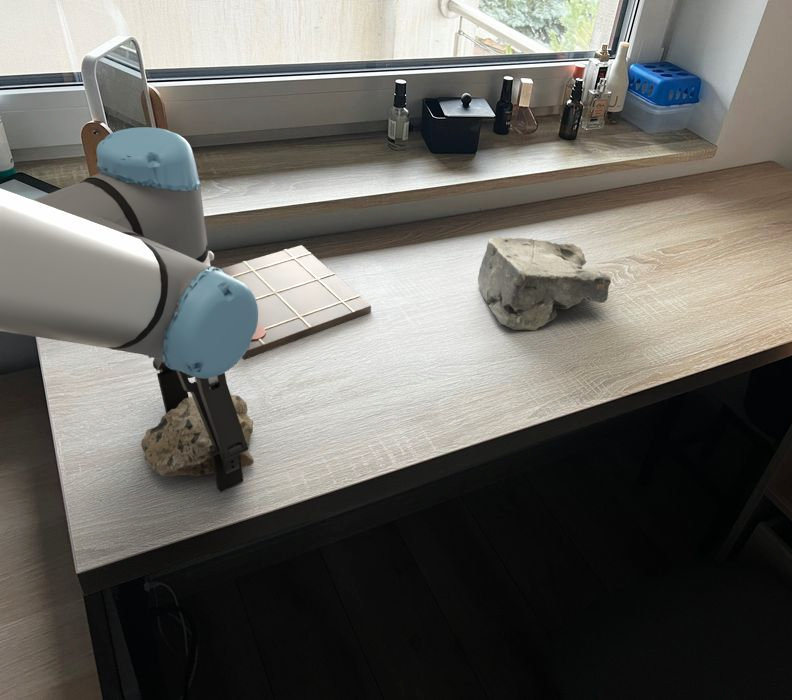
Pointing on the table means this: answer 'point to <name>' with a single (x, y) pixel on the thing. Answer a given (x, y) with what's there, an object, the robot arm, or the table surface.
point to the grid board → (294, 297)
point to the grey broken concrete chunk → (536, 280)
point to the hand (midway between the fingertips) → (203, 447)
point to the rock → (188, 441)
